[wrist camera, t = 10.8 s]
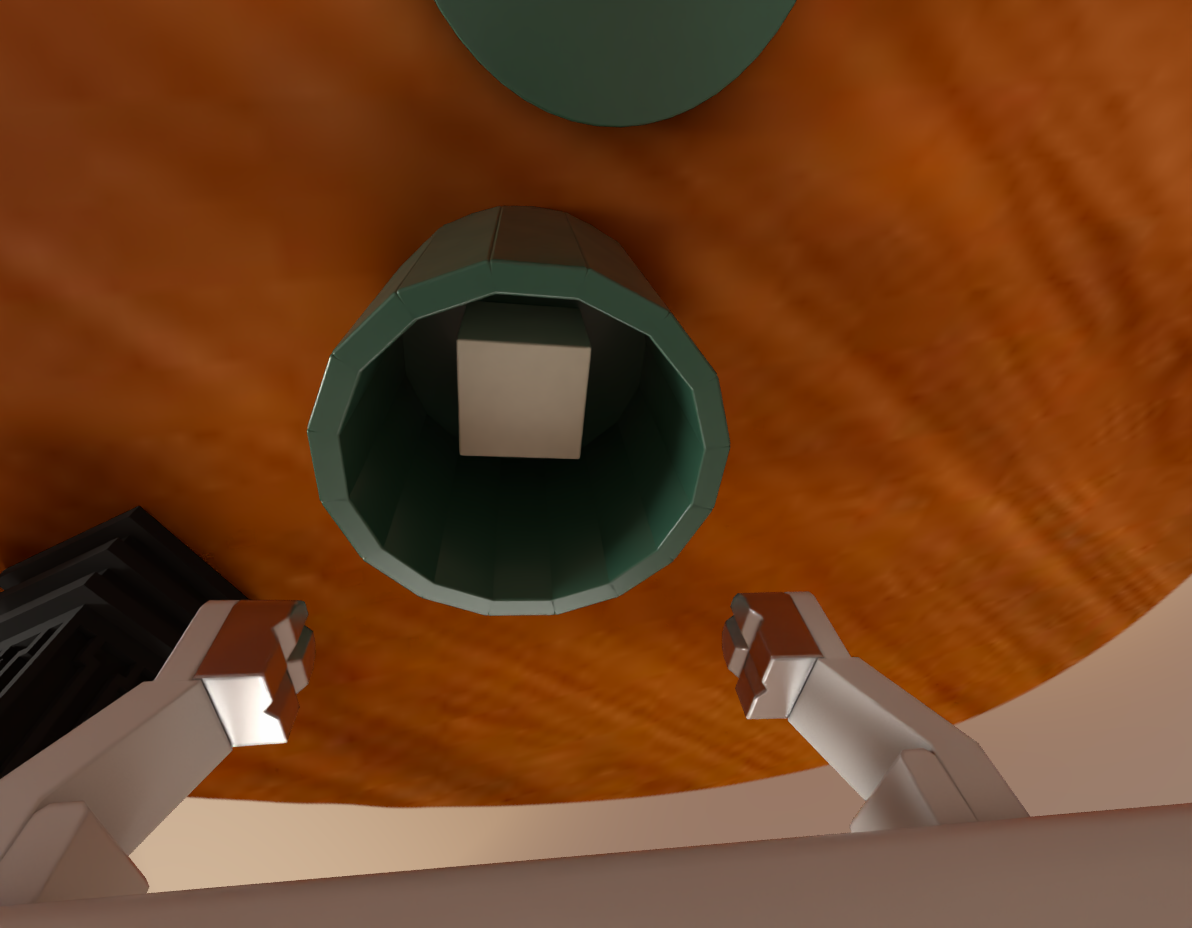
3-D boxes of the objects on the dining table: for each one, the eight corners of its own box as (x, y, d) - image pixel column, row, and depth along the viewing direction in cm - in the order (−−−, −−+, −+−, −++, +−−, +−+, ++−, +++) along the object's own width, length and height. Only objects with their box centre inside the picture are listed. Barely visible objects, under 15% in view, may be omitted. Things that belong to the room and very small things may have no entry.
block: (467, 299, 22) (455, 338, 18) (580, 308, 22) (592, 347, 19) (469, 402, 24) (459, 456, 20) (571, 407, 25) (580, 460, 21)
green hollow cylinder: (370, 190, 20) (269, 240, 12) (682, 220, 22) (775, 283, 14) (397, 463, 26) (341, 618, 18) (638, 470, 28) (686, 614, 20)
